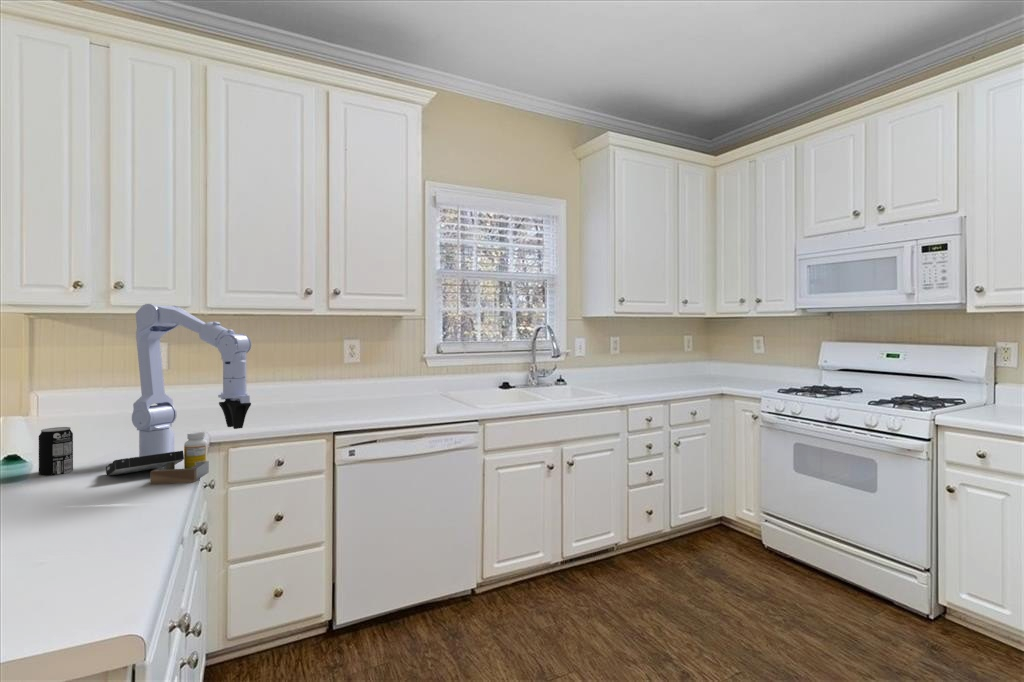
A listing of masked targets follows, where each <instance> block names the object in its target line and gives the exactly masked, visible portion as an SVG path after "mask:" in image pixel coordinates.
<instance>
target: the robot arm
mask: <svg viewBox="0 0 1024 682" xmlns="http://www.w3.org/2000/svg"><path fill="white" fill-rule="evenodd" d="M135 321H136V322H135V324H136V331H135V339H136V348H137V361H138V362H137V363H138V371H139V372H138V373H139V380H140V382H139V383H140V391H141V395H140V397H139V398H138V399H137V400H136V401H134V402H133V404H132V407H133V410H132V414H131V422H132V424H133V426H134V427H135V429H136V431H138V436H139V437H138V443H139V445H138V449H139V450H138V453H139V454H138V455H139V456H138V457H140V456H148V455H155V454H162V453H169V452H175V432H174V430H173V428H171V427H173V423H174V422H175V421H176V419H177V409H176V407H175V405H174V401H173V398H172V397H170V396H169V395H168V394H167V393H166V391H165V382H164V372H163V371H164V370H163V361H162V351H161V350H162V349H161V339H162V337H164V335H166V334H167V333H169V332H171V331H172V330H173V331H174V329H176V328H177V327H179V326H181V327H183V328H186V329H188V330H191V332H194V333H197V334H198V337H199V339H200V340H201V341H203V342H204V343H207V344H209V345H211V346H213V347H215V348H216V349H218V352H219V353H220V356H221V359H220V360H222V392H220V394H218V398H220V400H224V401H219V402H218V405H219V407H220V408H221V410H222V413H223V416H224V420H225V423H226V426H227V428H233V429H234V430H237V429H243V427H244V423H245V421H246V420H245V419H246V416H247V413H248V411H249V409H250V407H251V406H252V403H251V400H250V399H251V396H250V395H249V394H248V393H247V354H248V353H249V352H250V351H251V349H252V342H251V339H250V337H248V336H247V335H246V334H245V333H238V334H236V332H235V330H234V329H232V328H231V329H230V328H229V329H228V328H226V327H223V326H222V325H221V322H219V321H207V322H205V321H203V320H202V319H199V318H198V317H197V316H194V315H193V314H191V313H189V312H188V311H186V310H185V309H184V308H182V307H179V306H176V305H165V304H164V305H163V304H152V303H145V304H143V305H141V307H140V308H139V309H138V310H137V311H136V312H135Z"/></svg>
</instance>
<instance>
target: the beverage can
mask: <svg viewBox="0 0 1024 682" xmlns="http://www.w3.org/2000/svg"><path fill="white" fill-rule="evenodd" d="M73 471H74V433H73V431H72V430H71V427H70V426H57V427H48V428H42V429H41V430H40V433H39V435H38V475H39V476H42V477H44V476H45V477H49V476H50V477H51V476H61V475H65V474H69V473H72V472H73Z"/></svg>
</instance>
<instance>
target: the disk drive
mask: <svg viewBox="0 0 1024 682" xmlns="http://www.w3.org/2000/svg"><path fill="white" fill-rule="evenodd" d="M182 461H184V450H177V451H174V452H169V453H162V454H155V455H148V456H140V457H139V456H135V457H129V458H120V459H114V460H113V461H112V462H110V463H109V464H108V465H107V466H105V473H106V474H107V475H106V474H105V475H106V476H108V475H109V476H116V475H117V476H118V475H123V474H131V473H137V472H143V471H148V470H155V469H157V468H159V467H161V466H163V465H165V464H167V463H173V462H175V465H178V463H181V462H182Z"/></svg>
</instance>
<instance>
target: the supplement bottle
mask: <svg viewBox="0 0 1024 682" xmlns="http://www.w3.org/2000/svg"><path fill="white" fill-rule="evenodd" d="M186 435H187V436H186V437H187V440H186V441H184V445H183V449H184V450H183V454H184V460H183V464H184V468H183V469H190V468H192V467H193V466H195V465H197V464H198V463H200V462H202V461H209V459H208V458H209V457H208V456H209V455H208V454H209V450H208V449H209V447H208V446H209V444H208V441H207V439H204V438H205V437H206V432H205V431H202V430H201V431H200V430H199V431H192V432H187V434H186Z"/></svg>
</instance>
